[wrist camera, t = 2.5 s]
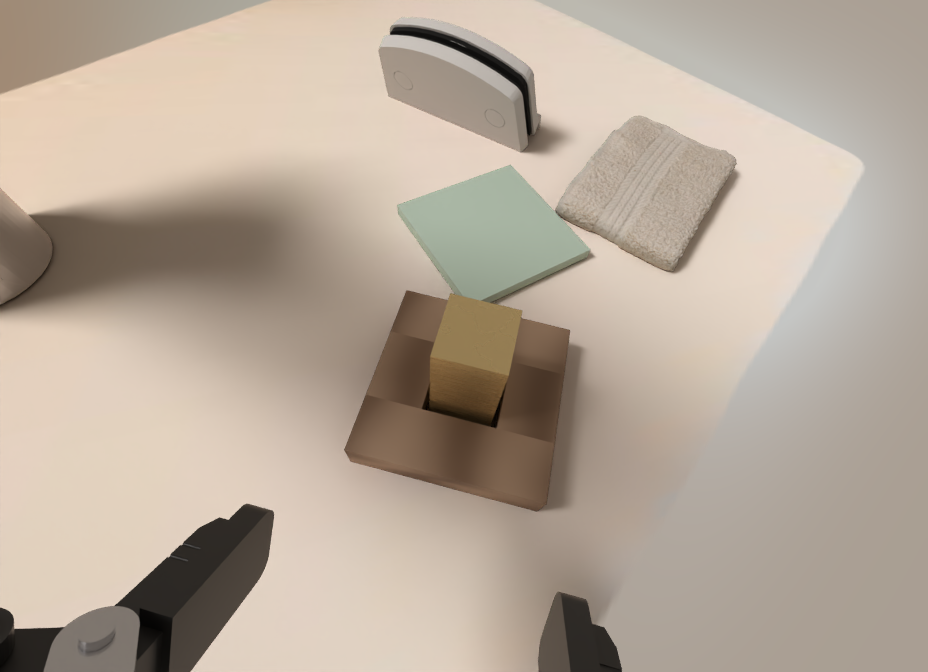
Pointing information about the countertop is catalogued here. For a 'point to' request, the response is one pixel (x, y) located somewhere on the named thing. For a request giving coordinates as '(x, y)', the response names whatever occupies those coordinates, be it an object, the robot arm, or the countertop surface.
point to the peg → (472, 358)
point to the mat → (491, 234)
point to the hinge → (460, 79)
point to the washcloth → (647, 190)
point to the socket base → (455, 440)
